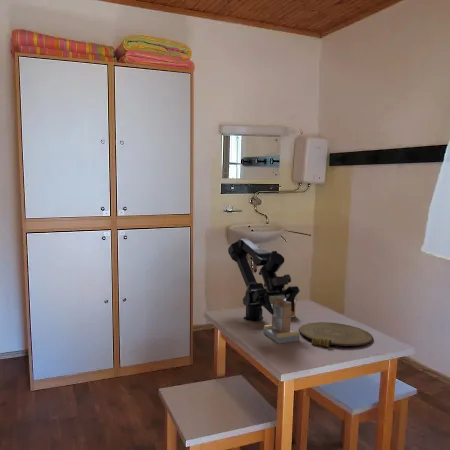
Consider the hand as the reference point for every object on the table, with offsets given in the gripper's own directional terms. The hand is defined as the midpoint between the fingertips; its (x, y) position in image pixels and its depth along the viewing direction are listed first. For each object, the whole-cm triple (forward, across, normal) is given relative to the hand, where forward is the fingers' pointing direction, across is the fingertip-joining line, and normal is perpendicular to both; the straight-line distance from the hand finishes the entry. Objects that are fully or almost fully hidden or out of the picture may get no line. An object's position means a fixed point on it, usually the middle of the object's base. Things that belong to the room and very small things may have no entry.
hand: (283, 312), depth 167 cm
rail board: (+6, 0, +8) cm, 10 cm away
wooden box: (+5, 0, +6) cm, 8 cm away
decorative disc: (+11, +21, +4) cm, 24 cm away
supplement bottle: (-9, +17, +23) cm, 30 cm away
